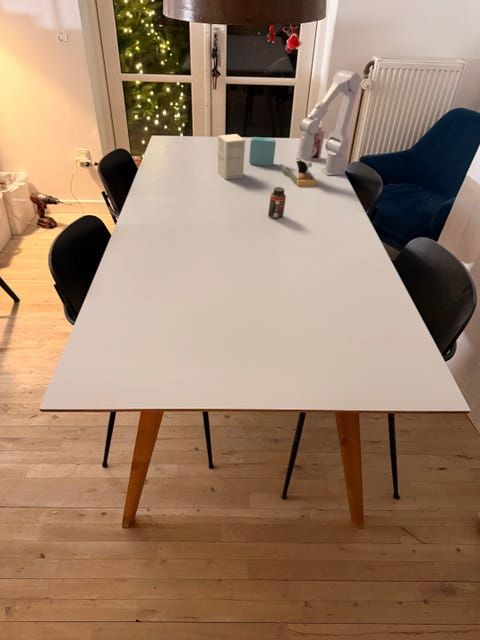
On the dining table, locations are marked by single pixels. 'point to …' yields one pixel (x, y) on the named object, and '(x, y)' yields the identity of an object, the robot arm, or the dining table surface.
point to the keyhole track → (298, 182)
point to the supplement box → (231, 156)
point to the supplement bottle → (277, 203)
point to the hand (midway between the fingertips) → (301, 177)
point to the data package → (262, 151)
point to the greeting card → (317, 145)
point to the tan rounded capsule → (304, 176)
